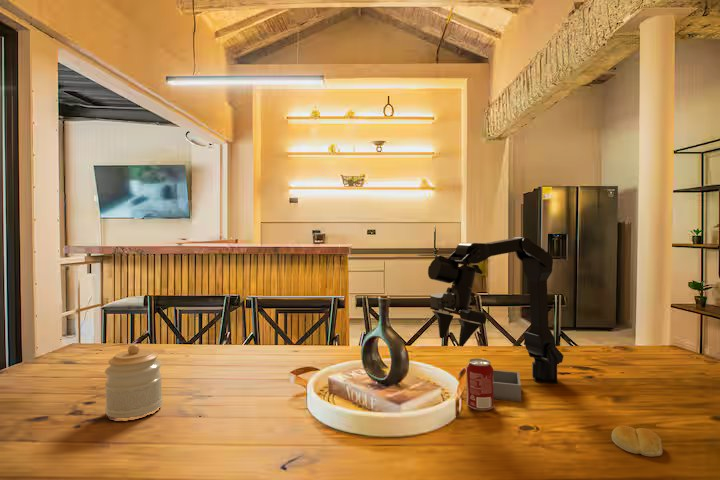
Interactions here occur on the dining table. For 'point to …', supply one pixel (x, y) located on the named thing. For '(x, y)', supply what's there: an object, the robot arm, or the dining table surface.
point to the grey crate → (506, 385)
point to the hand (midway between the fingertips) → (450, 342)
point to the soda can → (479, 384)
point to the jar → (133, 383)
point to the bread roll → (637, 440)
